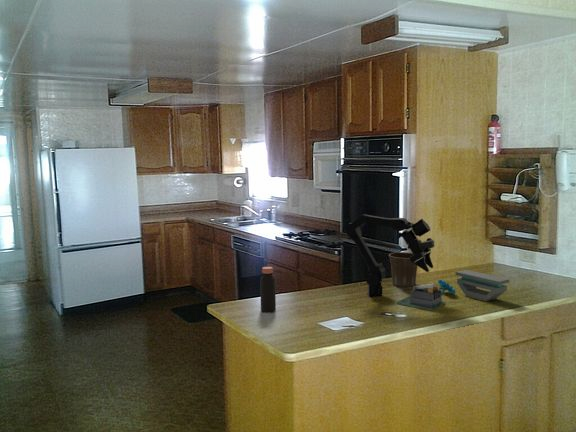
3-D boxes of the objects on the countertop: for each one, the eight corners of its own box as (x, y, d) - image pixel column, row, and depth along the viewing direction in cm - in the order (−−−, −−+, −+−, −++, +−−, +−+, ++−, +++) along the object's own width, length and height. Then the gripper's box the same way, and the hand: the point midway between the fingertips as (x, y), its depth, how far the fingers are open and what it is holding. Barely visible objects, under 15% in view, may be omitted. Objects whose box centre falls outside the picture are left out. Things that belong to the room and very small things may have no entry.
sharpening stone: (508, 301, 253) (509, 279, 251) (498, 304, 248) (498, 281, 247) (465, 290, 274) (466, 269, 272) (455, 293, 269) (455, 271, 268)
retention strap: (414, 289, 251) (413, 287, 251) (417, 288, 254) (416, 285, 254) (433, 286, 245) (432, 284, 245) (435, 285, 247) (435, 283, 247)
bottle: (258, 309, 246) (258, 266, 244) (272, 308, 248) (272, 265, 246) (263, 313, 240) (262, 269, 237) (277, 312, 242) (277, 268, 240)
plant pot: (425, 283, 289) (425, 254, 287) (410, 289, 277) (410, 259, 275) (398, 279, 300) (398, 251, 298) (383, 285, 288) (383, 255, 286)
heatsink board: (396, 303, 252) (396, 285, 251) (410, 297, 263) (410, 280, 262) (432, 310, 241) (432, 291, 239) (445, 303, 251) (445, 285, 250)
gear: (460, 292, 264) (446, 279, 262) (452, 301, 263) (438, 288, 261) (448, 290, 275) (435, 277, 273) (441, 299, 274) (428, 286, 272)
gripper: (421, 235, 244) (441, 265, 242) (430, 230, 261) (448, 257, 258) (401, 248, 249) (420, 277, 246) (411, 241, 265) (429, 268, 263)
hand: (430, 269), depth 253 cm, fingers open, 9 cm apart
